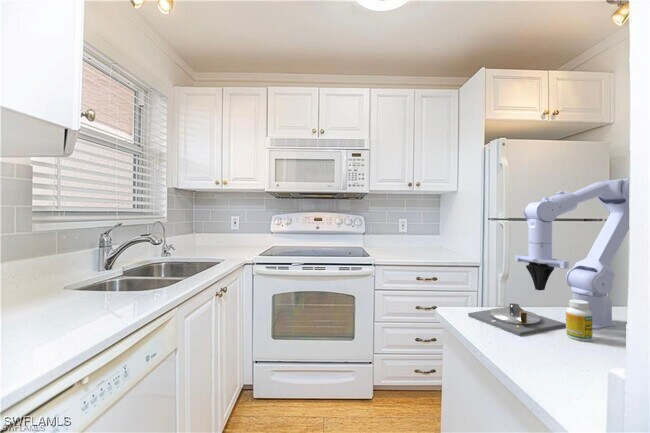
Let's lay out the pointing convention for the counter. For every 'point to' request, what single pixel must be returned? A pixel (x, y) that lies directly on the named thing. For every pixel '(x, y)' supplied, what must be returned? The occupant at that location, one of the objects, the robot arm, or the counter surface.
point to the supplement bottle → (579, 320)
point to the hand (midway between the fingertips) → (539, 289)
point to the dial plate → (518, 329)
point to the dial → (515, 315)
